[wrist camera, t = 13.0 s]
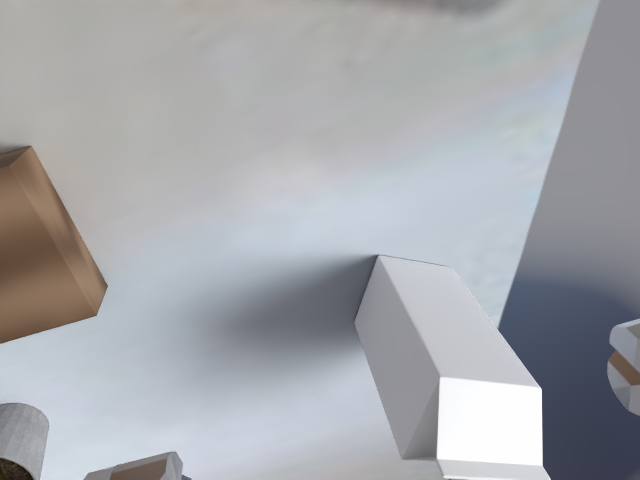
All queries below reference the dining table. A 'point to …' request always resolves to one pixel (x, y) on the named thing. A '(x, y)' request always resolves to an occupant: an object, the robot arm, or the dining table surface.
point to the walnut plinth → (40, 254)
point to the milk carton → (448, 375)
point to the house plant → (22, 441)
